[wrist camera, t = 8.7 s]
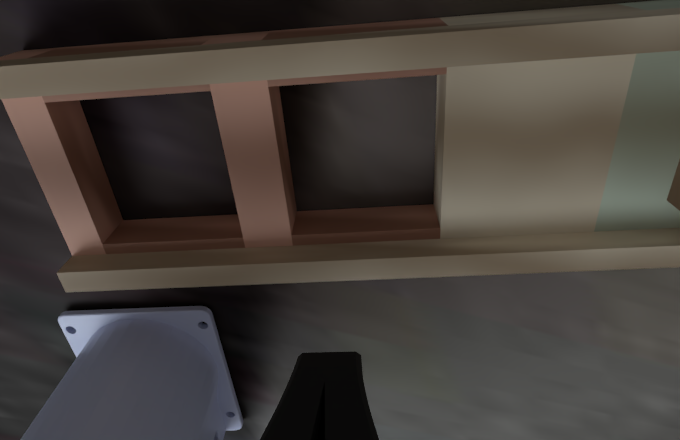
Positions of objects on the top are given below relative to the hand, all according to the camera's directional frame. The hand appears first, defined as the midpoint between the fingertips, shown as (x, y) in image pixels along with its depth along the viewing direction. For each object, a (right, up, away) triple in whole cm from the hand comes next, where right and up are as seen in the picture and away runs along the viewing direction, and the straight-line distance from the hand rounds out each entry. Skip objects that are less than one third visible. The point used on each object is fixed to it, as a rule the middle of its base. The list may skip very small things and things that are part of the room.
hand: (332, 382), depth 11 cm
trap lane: (+4, +7, +8) cm, 11 cm away
